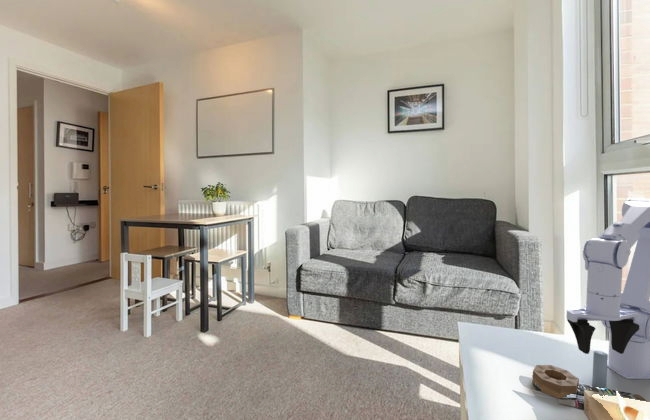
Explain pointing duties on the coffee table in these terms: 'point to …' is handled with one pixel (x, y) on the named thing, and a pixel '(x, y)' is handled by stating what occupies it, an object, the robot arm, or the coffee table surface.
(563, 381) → the wooden octagonal ring
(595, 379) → the dowel
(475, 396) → the coffee table surface
